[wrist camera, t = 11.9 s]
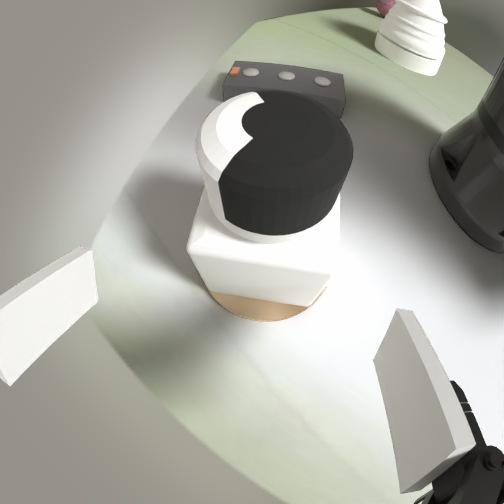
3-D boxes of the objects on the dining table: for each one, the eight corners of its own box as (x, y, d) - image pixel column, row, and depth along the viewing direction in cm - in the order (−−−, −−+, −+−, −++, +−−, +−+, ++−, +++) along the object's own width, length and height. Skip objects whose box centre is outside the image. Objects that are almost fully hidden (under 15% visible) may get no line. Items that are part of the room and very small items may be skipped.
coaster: (272, 178, 24) (272, 174, 23) (357, 262, 21) (360, 259, 20) (174, 246, 21) (172, 242, 21) (257, 350, 18) (257, 350, 18)
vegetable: (399, 22, 46) (407, -6, 37) (389, 23, 45) (397, -8, 36) (380, 13, 48) (387, -14, 39) (369, 14, 47) (375, -16, 38)
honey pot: (398, 40, 40) (415, -26, 23) (446, 73, 35) (474, 4, 19) (360, 42, 37) (376, -38, 20) (416, 78, 33) (446, -10, 16)
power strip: (339, 90, 29) (343, 72, 27) (340, 118, 27) (346, 98, 25) (236, 76, 31) (235, 58, 28) (224, 102, 28) (222, 82, 26)
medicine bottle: (319, 217, 21) (362, 88, 10) (310, 308, 19) (380, 220, 8) (228, 204, 22) (208, 70, 11) (207, 291, 19) (147, 188, 8)
